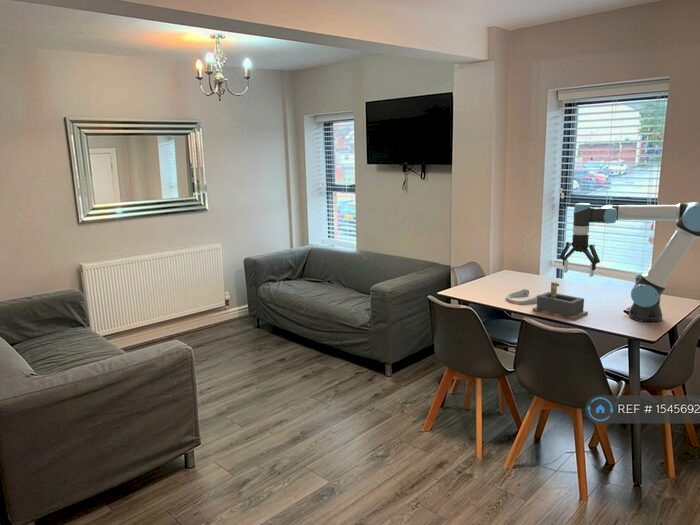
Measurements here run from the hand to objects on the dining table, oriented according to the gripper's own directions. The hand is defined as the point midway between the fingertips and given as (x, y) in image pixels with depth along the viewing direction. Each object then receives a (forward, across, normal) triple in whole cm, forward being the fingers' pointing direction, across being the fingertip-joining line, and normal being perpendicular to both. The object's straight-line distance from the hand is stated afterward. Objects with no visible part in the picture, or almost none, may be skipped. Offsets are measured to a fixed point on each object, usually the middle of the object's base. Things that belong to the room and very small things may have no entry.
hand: (578, 274), depth 270 cm
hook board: (+23, +9, 0) cm, 24 cm away
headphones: (+23, +36, -8) cm, 43 cm away
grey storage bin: (+21, +9, 0) cm, 23 cm away
